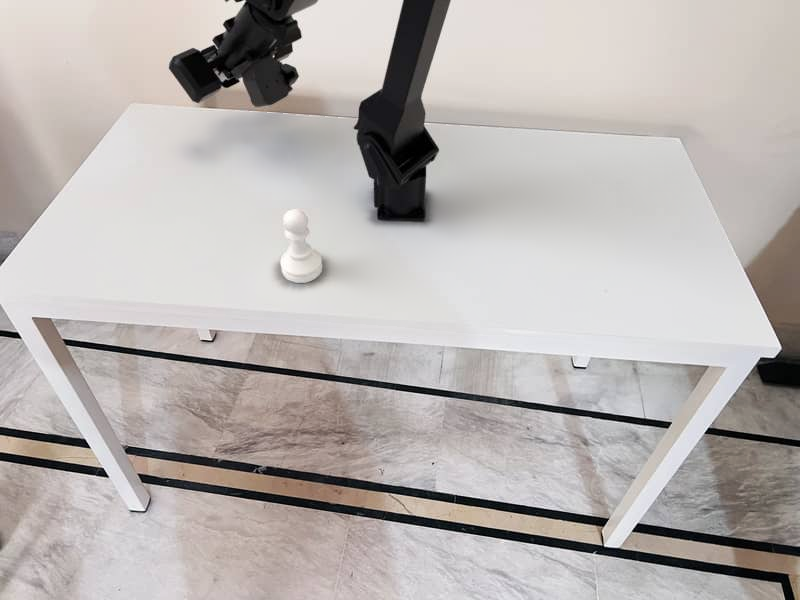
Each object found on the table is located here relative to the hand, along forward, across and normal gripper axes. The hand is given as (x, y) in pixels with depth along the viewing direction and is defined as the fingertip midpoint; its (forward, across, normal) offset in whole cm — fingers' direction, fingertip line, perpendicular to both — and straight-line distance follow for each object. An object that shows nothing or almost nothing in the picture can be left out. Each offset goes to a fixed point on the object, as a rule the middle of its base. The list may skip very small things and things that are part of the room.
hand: (214, 83), depth 93 cm
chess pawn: (-19, -18, -28) cm, 38 cm away
